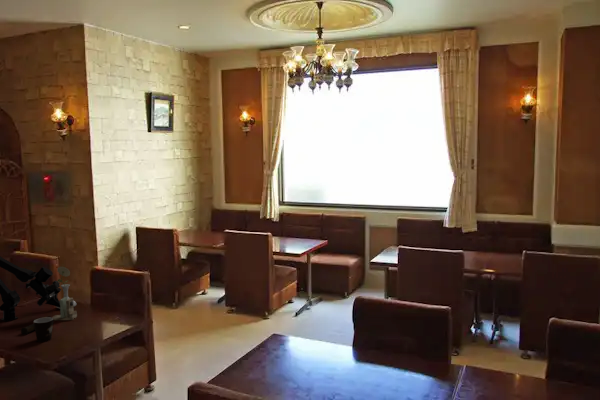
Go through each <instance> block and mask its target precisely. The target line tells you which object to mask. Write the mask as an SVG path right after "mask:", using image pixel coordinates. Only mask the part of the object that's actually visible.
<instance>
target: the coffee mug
mask: <svg viewBox="0 0 600 400" xmlns="http://www.w3.org/2000/svg"><path fill="white" fill-rule="evenodd" d="M50 317H51V316H50ZM50 317H48V316H45V317H40V318H37V319H34V320H33V324H34V326H35V330H34V331H35V337H36V341H37V342H38V343H45V341H46V342H49V341H51V340H52V335H53V325H54V323H55V322H54V321H55V320H53V318H52V317H51V318H50ZM48 340H49V341H48Z"/></svg>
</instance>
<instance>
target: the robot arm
mask: <svg viewBox="0 0 600 400" xmlns="http://www.w3.org/2000/svg"><path fill="white" fill-rule="evenodd" d="M0 268H2V269H3V270H5V271H7V272H9V273H11V274H13V275H14V276H15V278H16V279H18V280H19V281H20V282H22V283H25V290H26V289H29V288H31V289H32V290H33V291H34V292H35V295H38V296H40V298H39V299H38V300H37V301H36V304H37V305H38V306H39V307H41V306H43V304H44V303H45V304H44V305H49V306H53V307H56V306H57V307H60V302H59V301H60V300H59V298H58V294H59V293H60V292H61V291H62V288H60V287H61V285H60V284H61V282H58V280H54V281H52V282H51V283H52V284H50V285H49V284H45V283H46V282H47V281H48V280H49V279H50V278H51V277H52V276H53V274H54V273H53V271H52V270H51V269H49V268H47V267H45V266H43V267H40V269H39V271H33V270H32V269H28V268H25V267H22V266H21V267H20V266H18V265H16V264H14V263H12V262H11V261H9V260H7V259H6V258H3V256H1V255H0ZM0 297H1V301H2V304H1V305H0V311H1V312H2V315H3V316H2V318H0V320H1V321H4V322H10V321H14V320H17V319H19V317H18V316H16V308H15V307H17V306H18V304H19V303H20V302H21V297H20V294H19V293H18V292H17V290H15V289H14V290H11V289H10V288H9V287H8V286H7V285H6V284H5V282H4V281H3V280H2V279H1V278H0ZM57 307H56V308H57Z"/></svg>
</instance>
